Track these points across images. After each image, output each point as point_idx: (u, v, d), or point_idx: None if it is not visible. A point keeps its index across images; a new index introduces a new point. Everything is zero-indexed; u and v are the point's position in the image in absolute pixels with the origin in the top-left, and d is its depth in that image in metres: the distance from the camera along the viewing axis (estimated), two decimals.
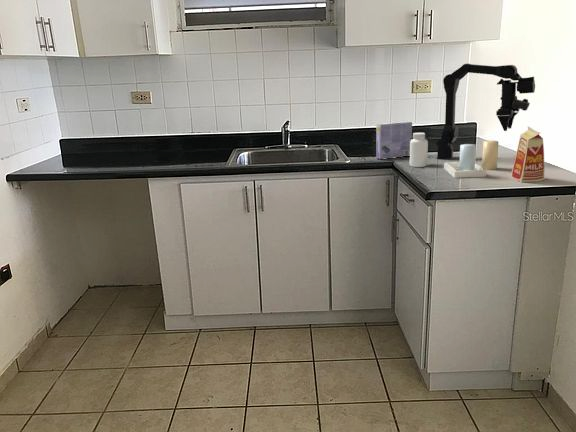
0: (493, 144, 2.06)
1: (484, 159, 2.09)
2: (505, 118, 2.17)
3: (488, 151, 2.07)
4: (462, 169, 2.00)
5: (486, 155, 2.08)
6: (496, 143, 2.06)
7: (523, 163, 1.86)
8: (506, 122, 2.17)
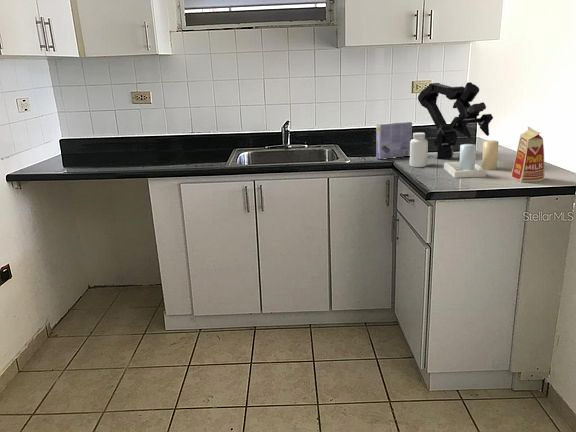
0: (493, 144, 2.06)
1: (484, 159, 2.09)
2: (462, 127, 2.16)
3: (488, 151, 2.07)
4: (462, 169, 2.00)
5: (486, 155, 2.08)
6: (496, 143, 2.06)
7: (523, 163, 1.86)
8: (464, 129, 2.15)
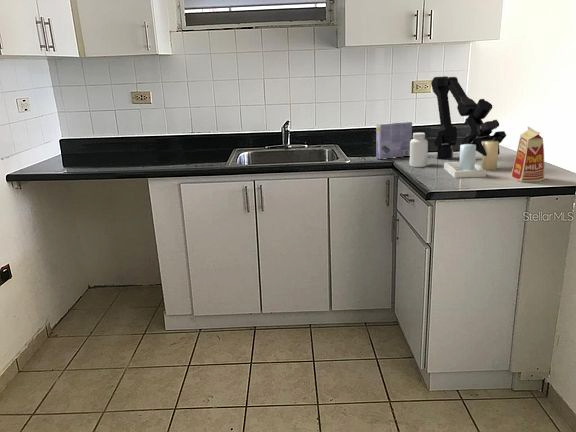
0: (493, 144, 2.06)
1: (484, 159, 2.09)
2: (478, 144, 2.10)
3: (488, 151, 2.07)
4: (462, 169, 2.00)
5: (486, 155, 2.08)
6: (496, 143, 2.06)
7: (523, 163, 1.86)
8: (480, 147, 2.09)
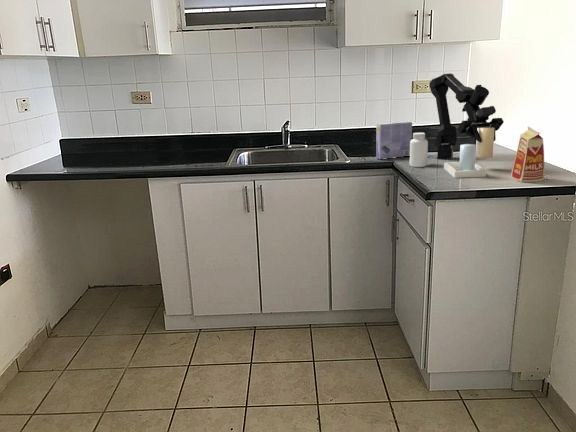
0: (488, 130, 2.04)
1: (480, 146, 2.07)
2: (473, 131, 2.08)
3: (483, 137, 2.05)
4: (462, 169, 2.00)
5: (481, 142, 2.06)
6: (492, 129, 2.04)
7: (523, 163, 1.86)
8: (475, 133, 2.07)
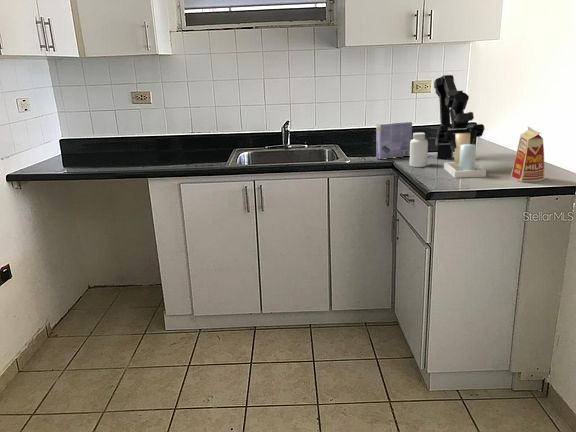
0: (462, 136, 2.04)
1: (455, 151, 2.09)
2: None
3: (457, 143, 2.06)
4: (462, 169, 2.00)
5: (456, 147, 2.07)
6: (466, 136, 2.04)
7: (523, 163, 1.86)
8: (451, 139, 2.09)
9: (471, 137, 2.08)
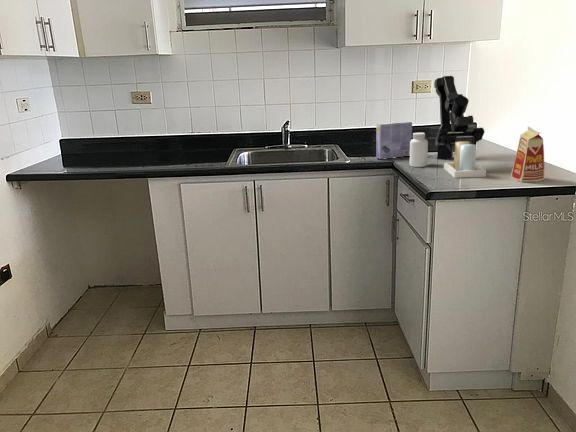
0: (461, 144, 2.05)
1: (454, 159, 2.10)
2: None
3: (457, 151, 2.07)
4: (462, 169, 2.00)
5: (455, 155, 2.08)
6: None
7: (523, 163, 1.86)
8: (447, 143, 2.09)
9: (474, 140, 2.08)
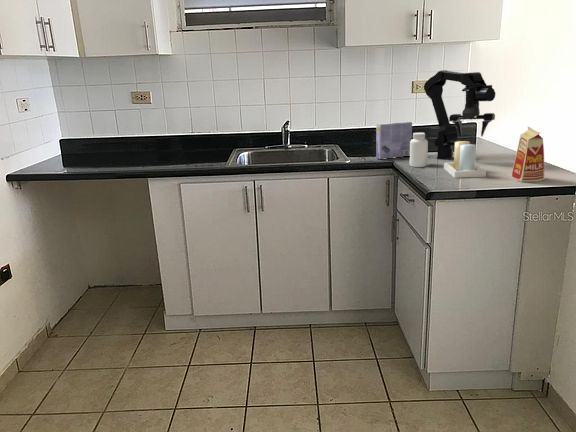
0: (461, 144, 2.05)
1: (454, 159, 2.10)
2: None
3: (457, 151, 2.07)
4: (462, 169, 2.00)
5: (455, 155, 2.08)
6: None
7: (523, 163, 1.86)
8: None
9: (482, 127, 2.21)
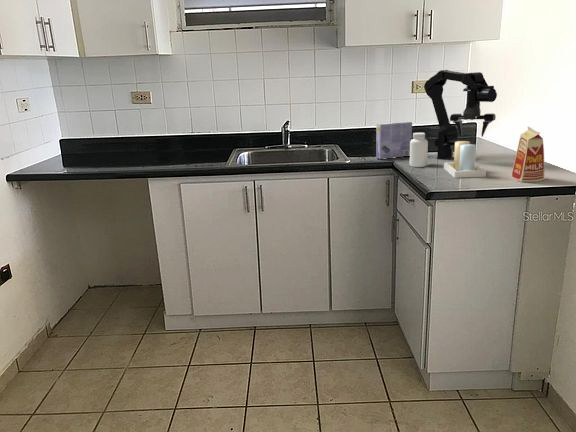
0: (461, 144, 2.05)
1: (454, 159, 2.10)
2: None
3: (457, 151, 2.07)
4: (462, 169, 2.00)
5: (456, 155, 2.08)
6: None
7: (523, 163, 1.86)
8: None
9: (483, 128, 2.21)
